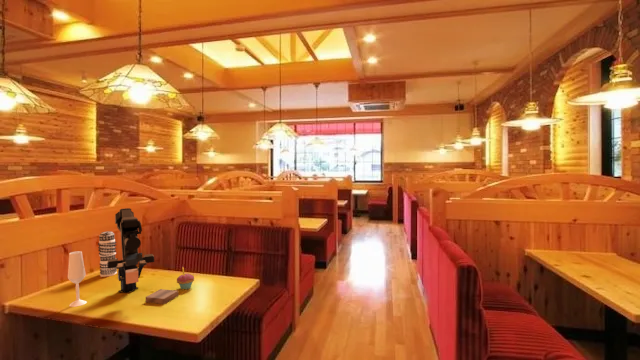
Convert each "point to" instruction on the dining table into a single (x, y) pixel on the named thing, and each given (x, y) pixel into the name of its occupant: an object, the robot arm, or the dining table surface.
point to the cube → (132, 276)
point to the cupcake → (185, 280)
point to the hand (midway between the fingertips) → (132, 279)
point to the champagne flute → (76, 274)
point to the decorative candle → (106, 253)
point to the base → (162, 296)
